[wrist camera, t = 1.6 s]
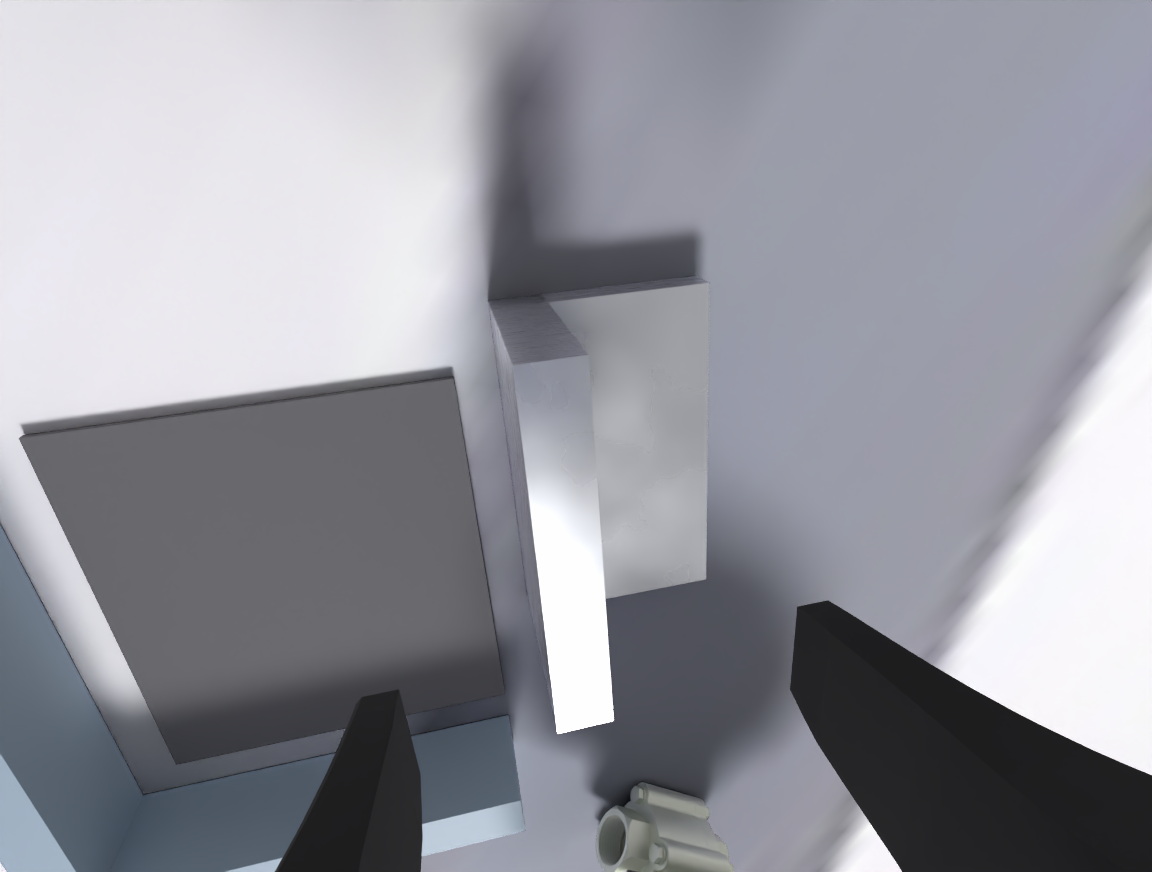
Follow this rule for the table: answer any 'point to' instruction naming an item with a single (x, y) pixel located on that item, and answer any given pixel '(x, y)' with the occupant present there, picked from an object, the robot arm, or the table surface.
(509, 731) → the corner walls
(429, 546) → the pad
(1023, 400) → the table surface
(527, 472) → the angle bracket
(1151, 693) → the table surface
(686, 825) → the pneumatic valve
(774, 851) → the table surface
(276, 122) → the table surface
